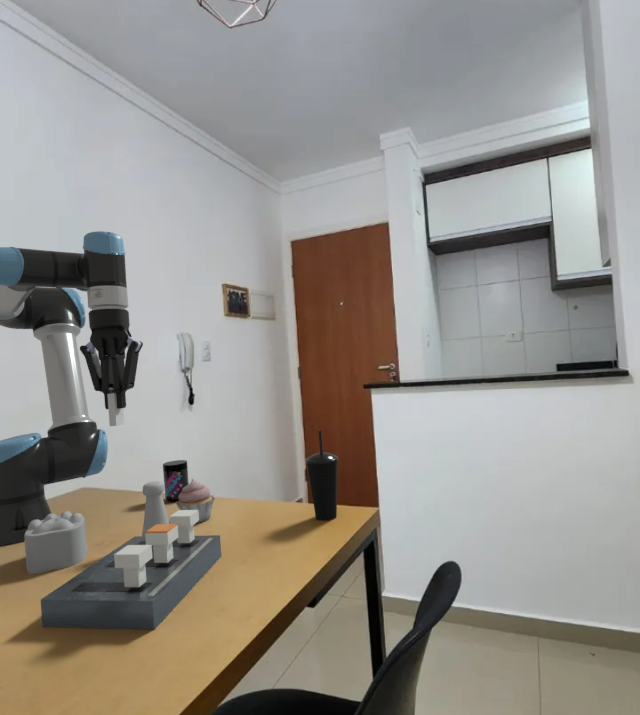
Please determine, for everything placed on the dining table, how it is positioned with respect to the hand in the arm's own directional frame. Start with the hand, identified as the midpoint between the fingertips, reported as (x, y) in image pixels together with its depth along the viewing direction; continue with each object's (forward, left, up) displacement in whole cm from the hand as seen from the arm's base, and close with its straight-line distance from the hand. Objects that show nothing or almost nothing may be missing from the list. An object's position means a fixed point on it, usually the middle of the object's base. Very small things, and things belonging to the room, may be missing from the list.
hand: (117, 424), depth 97 cm
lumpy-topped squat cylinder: (-14, -2, -27) cm, 30 cm away
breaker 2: (+16, -5, -22) cm, 28 cm away
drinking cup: (+38, +20, -26) cm, 50 cm away
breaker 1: (+16, -22, -22) cm, 35 cm away
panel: (+12, -14, -26) cm, 32 cm away
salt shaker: (+4, +5, -26) cm, 27 cm away
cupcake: (+6, +20, -27) cm, 34 cm away
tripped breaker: (+16, -14, -22) cm, 30 cm away
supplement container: (-8, +38, -27) cm, 47 cm away
